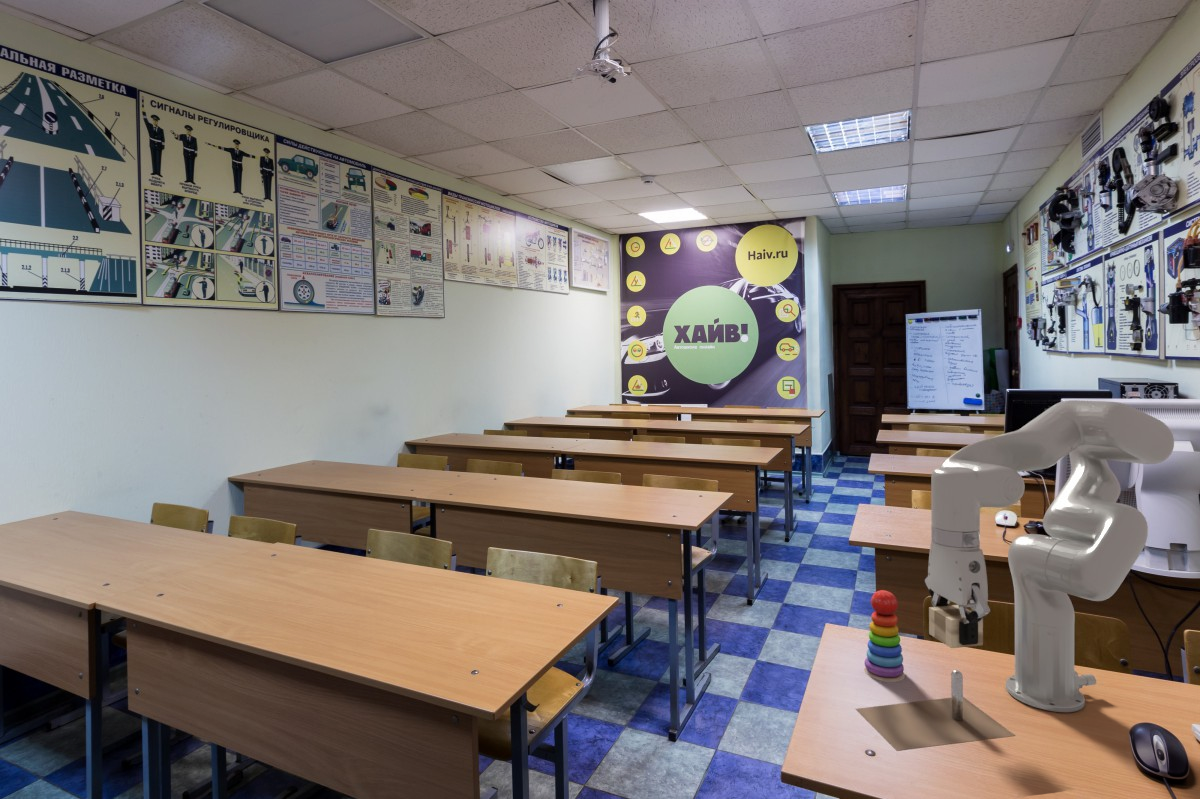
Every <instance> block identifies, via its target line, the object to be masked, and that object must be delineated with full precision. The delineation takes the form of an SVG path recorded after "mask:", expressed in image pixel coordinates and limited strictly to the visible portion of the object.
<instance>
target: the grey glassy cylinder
mask: <svg viewBox="0 0 1200 799" xmlns="http://www.w3.org/2000/svg"><path fill="white" fill-rule="evenodd" d="M950 675H951V676H950V678H951V679H950V680H951V681H950V683H951V684H950V685H951V686H950V689H951V690H950V691H951V695H950V696H951V697H950V698H951V703H952V719H954V720H956V721H963V697H964V692H963V691H964V690H963V689H964V686H963V685H964V680H963V679H964V678H963V673H962V672H961V671H960V670H957V669H956V670H955V669H954V670H953V671H951V673H950Z"/></svg>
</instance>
